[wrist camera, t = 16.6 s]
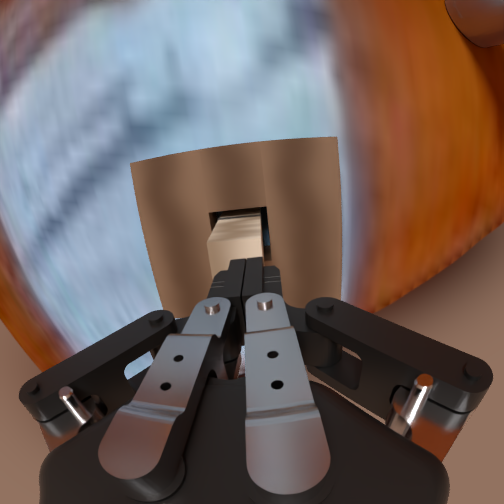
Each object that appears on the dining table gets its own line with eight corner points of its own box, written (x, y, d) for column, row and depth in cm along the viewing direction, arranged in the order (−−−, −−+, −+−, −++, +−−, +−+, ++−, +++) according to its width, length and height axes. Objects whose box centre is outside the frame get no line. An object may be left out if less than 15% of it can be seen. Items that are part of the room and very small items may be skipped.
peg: (260, 205, 28) (261, 237, 18) (263, 240, 29) (266, 287, 20) (223, 208, 28) (205, 241, 19) (227, 243, 29) (213, 290, 20)
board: (326, 137, 25) (337, 136, 21) (331, 285, 31) (340, 304, 27) (146, 160, 26) (130, 163, 22) (175, 299, 32) (166, 318, 28)
